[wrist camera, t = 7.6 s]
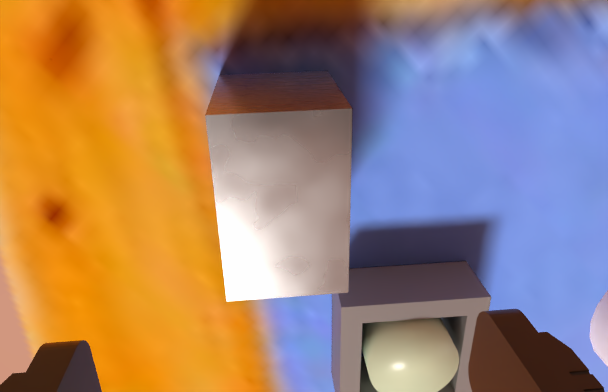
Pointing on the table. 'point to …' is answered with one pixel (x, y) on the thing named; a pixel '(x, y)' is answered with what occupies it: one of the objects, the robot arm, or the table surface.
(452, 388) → the button housing
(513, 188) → the table surface
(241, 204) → the block
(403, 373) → the button
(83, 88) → the table surface
